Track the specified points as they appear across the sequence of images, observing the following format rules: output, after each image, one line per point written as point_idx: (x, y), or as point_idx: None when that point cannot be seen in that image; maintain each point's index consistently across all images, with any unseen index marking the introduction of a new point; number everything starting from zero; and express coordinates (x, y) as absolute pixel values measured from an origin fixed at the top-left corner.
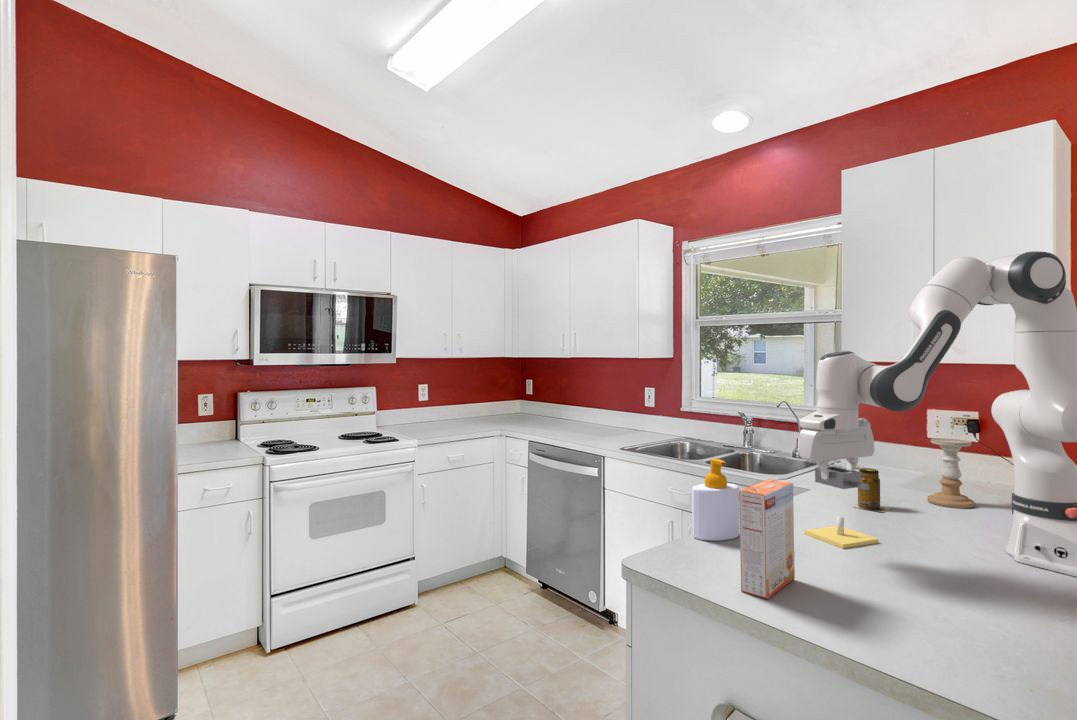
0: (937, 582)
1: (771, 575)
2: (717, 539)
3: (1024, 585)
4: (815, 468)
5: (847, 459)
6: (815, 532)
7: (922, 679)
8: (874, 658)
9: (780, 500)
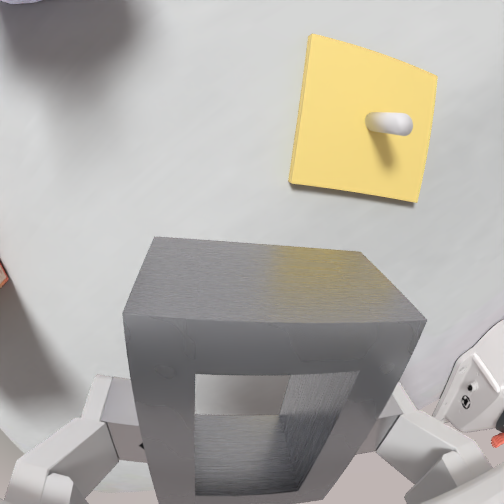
0: (265, 386)
1: None
2: (16, 3)
3: None
4: (123, 314)
5: (439, 473)
6: (323, 66)
7: (28, 451)
8: (7, 427)
9: None
